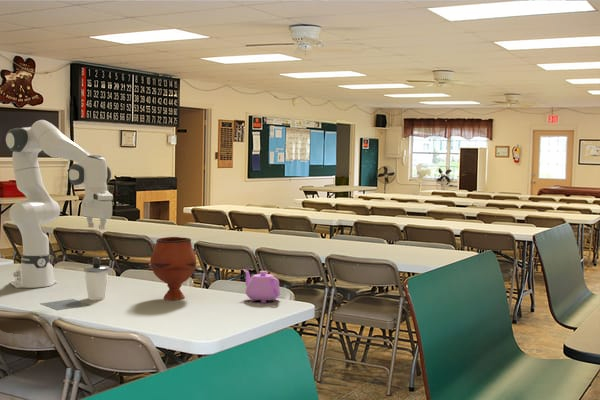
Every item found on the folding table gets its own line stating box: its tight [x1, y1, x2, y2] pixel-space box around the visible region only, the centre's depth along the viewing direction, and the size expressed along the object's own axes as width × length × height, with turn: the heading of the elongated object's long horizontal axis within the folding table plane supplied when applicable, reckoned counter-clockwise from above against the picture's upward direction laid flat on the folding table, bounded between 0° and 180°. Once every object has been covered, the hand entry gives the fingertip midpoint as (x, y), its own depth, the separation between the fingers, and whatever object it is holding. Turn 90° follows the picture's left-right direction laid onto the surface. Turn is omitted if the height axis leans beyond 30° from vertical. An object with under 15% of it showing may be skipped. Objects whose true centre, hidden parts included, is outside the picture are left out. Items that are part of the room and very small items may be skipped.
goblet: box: [149, 236, 197, 301], centre depth 292 cm, size 19×19×25 cm
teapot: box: [242, 269, 281, 304], centre depth 290 cm, size 20×14×12 cm
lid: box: [83, 256, 110, 273], centre depth 289 cm, size 10×10×5 cm
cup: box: [84, 271, 109, 301], centre depth 289 cm, size 9×9×12 cm
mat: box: [39, 298, 91, 311], centre depth 277 cm, size 16×14×1 cm
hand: (96, 228), depth 289 cm, fingers open, 8 cm apart
